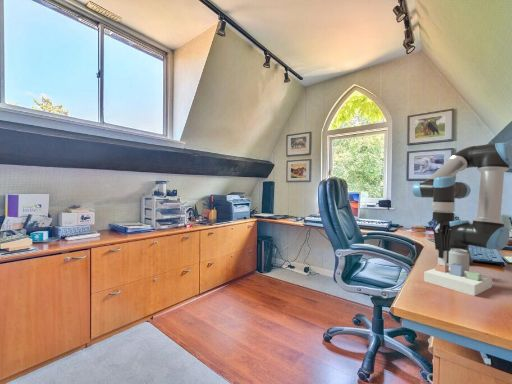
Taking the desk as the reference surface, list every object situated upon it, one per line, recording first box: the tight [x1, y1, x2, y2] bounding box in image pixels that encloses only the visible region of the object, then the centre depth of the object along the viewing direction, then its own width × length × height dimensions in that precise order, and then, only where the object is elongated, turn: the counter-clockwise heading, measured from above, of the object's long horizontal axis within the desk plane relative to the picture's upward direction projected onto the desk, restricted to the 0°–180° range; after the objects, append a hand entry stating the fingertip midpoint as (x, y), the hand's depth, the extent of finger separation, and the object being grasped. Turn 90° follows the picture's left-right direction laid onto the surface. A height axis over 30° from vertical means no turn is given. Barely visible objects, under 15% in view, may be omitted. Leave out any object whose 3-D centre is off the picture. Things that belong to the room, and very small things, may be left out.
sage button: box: [467, 270, 483, 281], centre depth 97 cm, size 4×4×5 cm
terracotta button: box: [434, 263, 449, 273], centre depth 107 cm, size 4×4×5 cm
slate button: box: [450, 263, 465, 277], centre depth 102 cm, size 4×4×5 cm
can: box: [447, 248, 470, 272], centre depth 113 cm, size 8×8×12 cm
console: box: [423, 267, 493, 297], centre depth 102 cm, size 18×17×4 cm
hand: (442, 264), depth 107 cm, fingers closed
